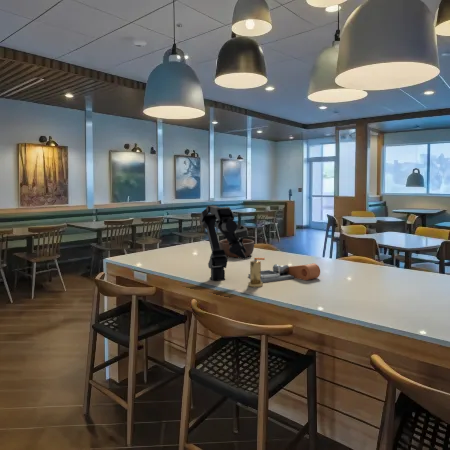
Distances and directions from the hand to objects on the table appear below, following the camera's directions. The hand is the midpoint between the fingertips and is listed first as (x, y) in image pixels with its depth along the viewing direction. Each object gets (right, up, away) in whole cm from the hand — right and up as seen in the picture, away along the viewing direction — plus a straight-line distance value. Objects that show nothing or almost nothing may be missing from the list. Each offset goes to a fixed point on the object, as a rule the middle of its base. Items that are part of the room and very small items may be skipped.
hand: (245, 255), depth 194 cm
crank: (+31, -13, +14) cm, 36 cm away
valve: (+5, -15, -3) cm, 16 cm away
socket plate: (+14, -13, +12) cm, 23 cm away
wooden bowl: (-2, -6, +77) cm, 77 cm away
